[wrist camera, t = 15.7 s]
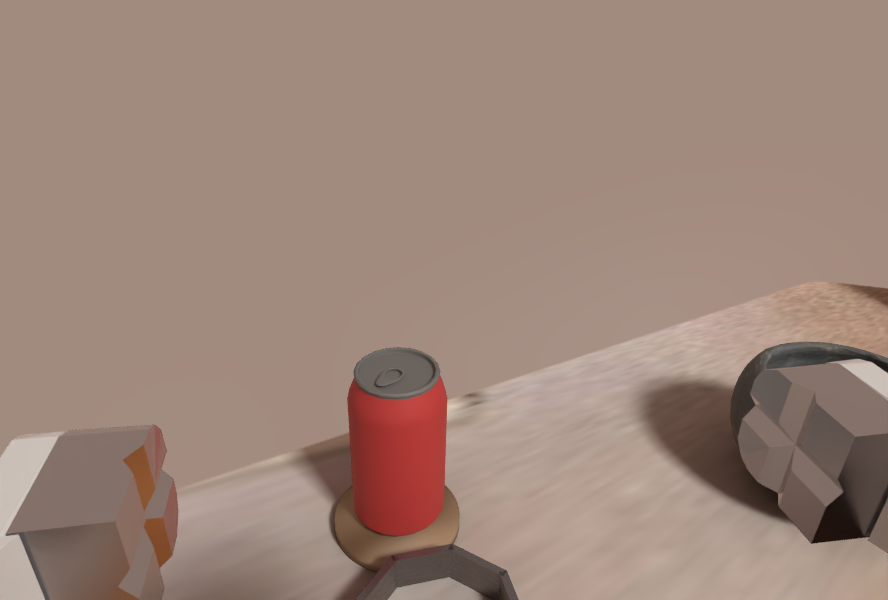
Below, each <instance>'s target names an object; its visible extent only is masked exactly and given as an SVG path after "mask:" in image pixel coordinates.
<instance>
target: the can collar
mask: <svg viewBox="0 0 888 600" xmlns="http://www.w3.org/2000/svg"><path fill="white" fill-rule="evenodd" d="M446 577H451V578H453V579H455V580H457V581H459V582H461V583H463V584H465V585H466V586H468V587H470V588H472V589H474V590H476V591H478V592H480V593H482V594H484V595H486V596H488V597H489V598H491V599H493V600H518V597H517V595H516V592H515V590H514V587H513V585H512V582H511V580H510V578H509V575H508V573H507V571H506V570H504V569H502V568H500V567H498V566H496V565H494V564H492V563H490V562H488V561H486V560H484V559H482V558H480V557H478V556H476V555H474V554H472V553H470V552H468V551H466V550H464V549H462V548H460V547H458V546H456V545H453V544H447V545H442V546H437V547H432V548H426V549H421V550H416V551H411V552H405V553H400V554H395V555H391V556H390V558H389V559H388V560H387V561H386V563H385V564H384V565H383V566H382V567H381V569H380V570H379V571H378V572H377V574H376V575H375V576H374V577H373V578H372V580H371V581H370V582H369V583H368V585H367V586H366V587H365V588H364V589H363V591H362V592H361V593H360V594H359V596H358V597H357V598H356V599H355V600H387V599H388V598H389V597H390V596H391V594H392V593H393V592H394V590H395V589H396V588H397V587H401V586H406V585H411V584H416V583H421V582H426V581H431V580H436V579H441V578H446Z"/></svg>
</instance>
